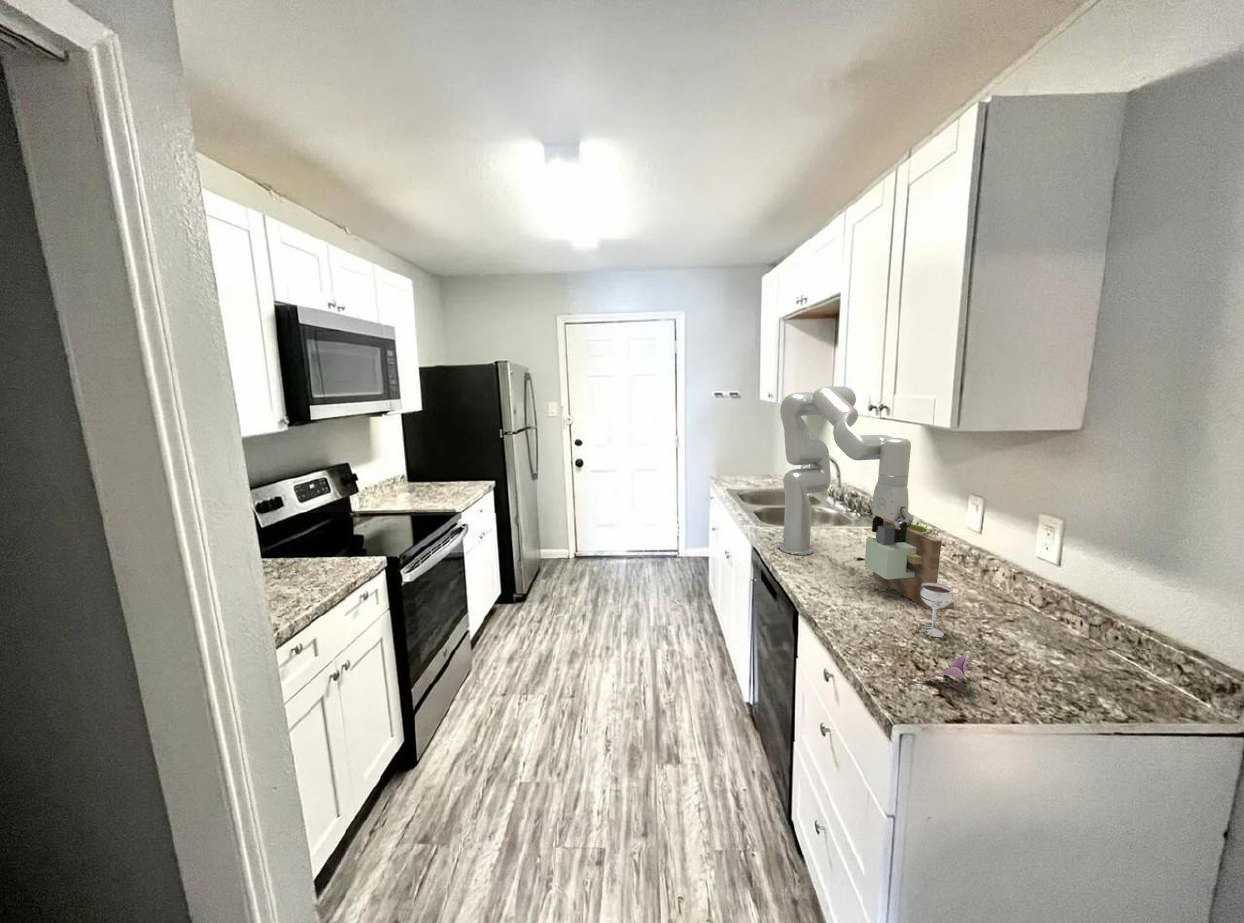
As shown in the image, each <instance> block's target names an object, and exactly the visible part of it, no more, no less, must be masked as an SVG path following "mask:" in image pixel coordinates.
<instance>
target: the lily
mask: <svg viewBox="0 0 1244 923" xmlns="http://www.w3.org/2000/svg"><path fill="white" fill-rule="evenodd" d="M981 651H983V649H981V650H979V651H977V652H975V653H972V654H971V653H968V654H967V653H964V654H962V655H961V656H959V657H957V658H956V659H952V660H951V659H950V658H949V659H944V661H945V662H948V663H949V664H950V665H949V668H947V669H945V670H944V671H942V672H936V673H934V674H932V675H930V676H928V678H926V679H925V680H924V682H926V681H928V680H929V679H931V678H932V677H934V676H940V675H943V676H951V677H956V678H961V679H963V680H964V681H965V682H966V684H967V685H968V687H969V688H970V691H971V692H972V694H973V697H974V698H975V699H978V697H977V695H976V693H975V691H974V689H973V688H972V685H971V684H970V682H969V681H968V679H967V678H966V668H967V664H968V662H969V661H970V659H971V658H972V657H974V656H975V655H977V654H979V653H980V652H981Z"/></svg>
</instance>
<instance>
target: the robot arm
mask: <svg viewBox="0 0 1244 923" xmlns="http://www.w3.org/2000/svg"><path fill="white" fill-rule="evenodd" d="M856 401H857V396H856V394H855V392H854V391H853V390H852V389H851V388H850V387H848V386H823V387H820V388H817V389H816V390H815V391H814V392H807V391H805V392H804V391H803V392H792V393H789V394H788V395H786V396H785V397H784V399H783V400H782V401H781V404H780V409H779V413H780V419H781V423H782V427H783V432H784V448H785V458H786V461H787V463H789V465H793V466H806V465H809V468H806V467H805V468H795V469H792V470H791V469H790V470H789V471H787V472H786V473H785V474H784V476H783V479H782V482H783V490H784V518H783V519H784V520H783V535H782V536H781V537H782V538H783V542H781V543H780V544H779V545H778V549H779V548H780V549H779V550H780V551H781V550H782V551H781V552H782V553H785V552H786V553H785V554H788V553H793V554H799V555H798V556H808V555H807V554H809V555H812V554H813V553H814V551H815V549H814V547H813V546H811V527H812V510H813V509H812V506H813V505H812V502H811V500H810V498H809V496H808V494H809V495H810V494H818V493H824V492H826V491H828V490H829V488H830V487H831V479H832V476H831V475H832V474H831V462H830V452H829V448H828V446H827V444H826V443H825V442H824V441H823V440H822V439H818V438H817V439H816V438H815V439H814V438H813V439H810V437H809V427H808V425H807V423H806V421H805V420H804V418H802V416H803V417H804V416H823V417H824V418H825V419H826V420H827V422H829V423H830V424H831V425H832V427H833V429H832V430H833V431H832V434H833V440H834V443H835V444H836V446H837V447H838V448H839V449H840V450H841V451H842V452H843V453H844V455H846V456H847V457H848V458H850V459H851V460H852V461H871V460H872V461H875V460H876V461H877V460H879V462H878V463H879V464H878V477H877V482H876V483H875V487H874V490H873V491H874V492H873V496H872V501H870V502H869V507H870V508H869V509H870V513H871V519H872V524H871V532H872V533H876V532H878V526H883V520H884V519H886V520H888V521H894V523H895V525H896V528H897V529H895V533H894V542H895V543H902V542H905V540H906V529H908V527H909V526H911V524H913V523H912V522H913V521H914V516H913V515H912V514H911V513H910V512H909V503H910V502H909V488H908V485H909V484H908V483H909V473H910V472H909V471H910V462H911V448H912V443H911V440H909V439H908V438H904V437H903V438H902V437H892V436H889V435H885V434H866V435H865V434H864V435H858V434H857V433H856V432H855V431H854V430H853V429H852V427H853V425H854V424H855V423H856V422H857V421H858V418H859V411H858V410H857V409H856V407H855V405H856V403H857V402H856ZM882 518H883V519H882ZM900 523H902V524H900ZM811 553H812V554H811ZM793 554H792V555H793Z"/></svg>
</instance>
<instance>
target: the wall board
mask: <svg viewBox="0 0 1244 923" xmlns="http://www.w3.org/2000/svg"><path fill="white" fill-rule="evenodd" d="M882 519H883V518H882ZM886 525H891V526H893V527H896V525H895V523H894V521H888V520H886V519H884V520H883V526H886ZM875 538H877V532H875ZM905 543H907V544H910V545H912V546H914V547H916V548H917V550H916V554H914V555H907V564H906V568H907V569H909V570H911V571H913V572H915V574H914V577H911V578H898V579H885V578H883V577H881V576H880V575H878V574H876V573H875V572H873V571H872V577H874V578H876V579H877V580H878V581H880V582H881V583H884V584H885V585H887V586H889V587H890V588H892V589H893V588H894V589H893V590H895V589H896V590H895V591H896V592H898V591H899V593H900V594H901V595H904V596H905V597H906V598H909V599H910V600H912V601H913V602H914V603H916V604H918V605H920V606H921V607H922V608H924V609H927V610H933V609H932V608H931V606H929V605H927V604H926V603H925V602H924V601H923V600H922V599H921V596H920V590H921V589H922V586H921V584H922V583H924V582H934V583H938V579H939V577H938V576H939V569H940V568H939V567H940V559H941V548H942V540H940V539H938V538H935V537H933V536H930V535H928V534H926V535H925V534H923V533H921V532H918V531H916V530H913V529H911V528H908V529H906V540H905ZM954 608H955V602H953V600H952V601H951V603H950V604H949V605H948V606H946V607H944V608H938V609H937V610H940V609H941V610H943V609H954Z"/></svg>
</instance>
